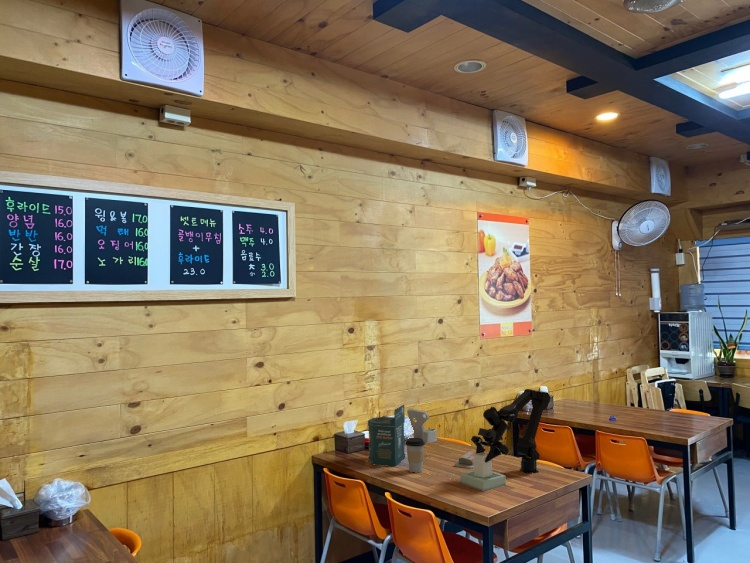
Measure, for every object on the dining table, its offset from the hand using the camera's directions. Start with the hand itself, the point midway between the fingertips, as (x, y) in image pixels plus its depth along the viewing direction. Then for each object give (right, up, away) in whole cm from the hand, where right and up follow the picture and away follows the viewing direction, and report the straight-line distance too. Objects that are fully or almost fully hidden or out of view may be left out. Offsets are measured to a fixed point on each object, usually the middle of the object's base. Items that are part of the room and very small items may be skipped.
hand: (480, 460), depth 252 cm
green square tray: (+1, -10, 0) cm, 11 cm away
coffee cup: (-27, -12, +21) cm, 36 cm away
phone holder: (-19, -14, +84) cm, 87 cm away
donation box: (-42, -13, +39) cm, 58 cm away
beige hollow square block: (+1, -7, +1) cm, 7 cm away
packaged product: (+1, -12, +33) cm, 36 cm away
